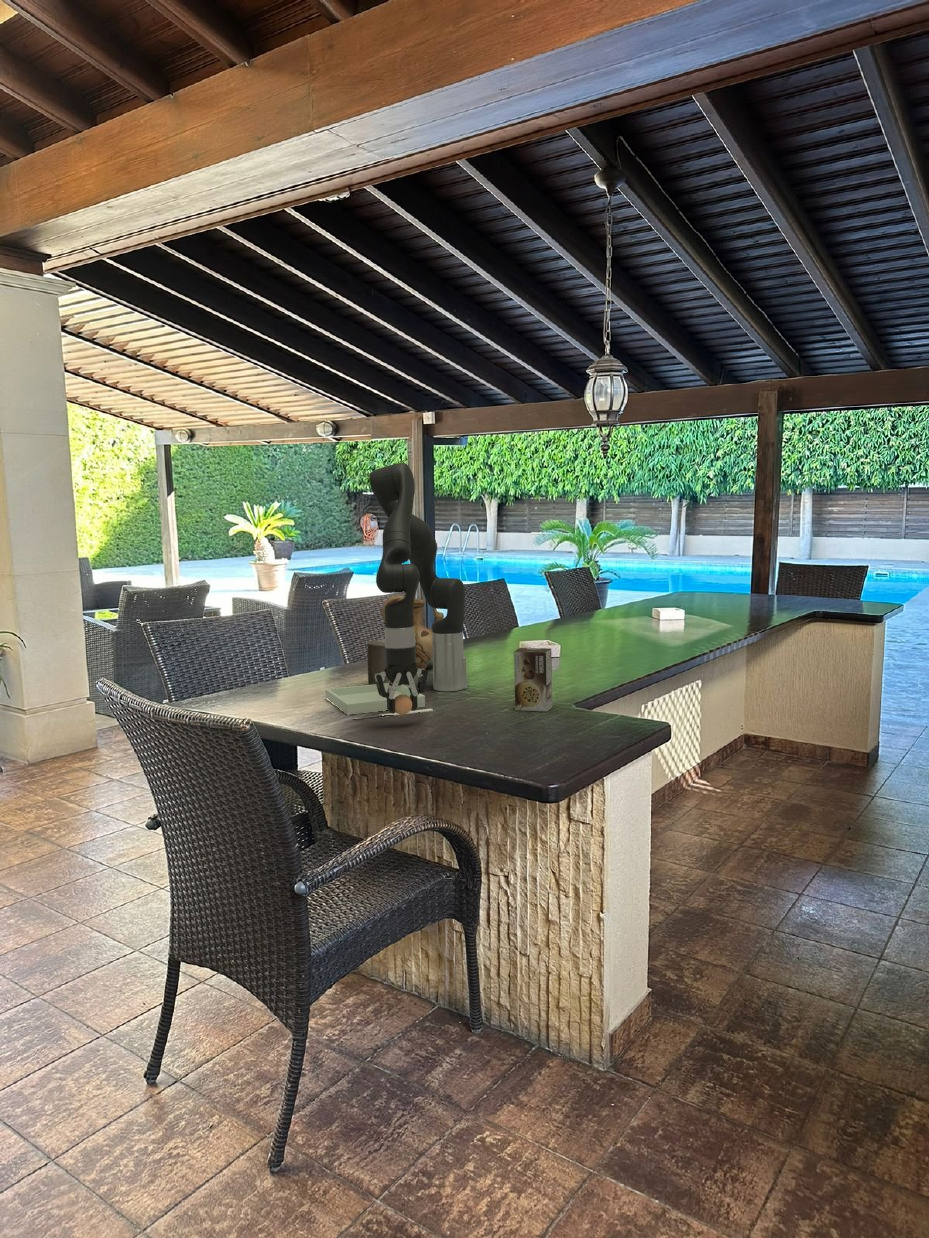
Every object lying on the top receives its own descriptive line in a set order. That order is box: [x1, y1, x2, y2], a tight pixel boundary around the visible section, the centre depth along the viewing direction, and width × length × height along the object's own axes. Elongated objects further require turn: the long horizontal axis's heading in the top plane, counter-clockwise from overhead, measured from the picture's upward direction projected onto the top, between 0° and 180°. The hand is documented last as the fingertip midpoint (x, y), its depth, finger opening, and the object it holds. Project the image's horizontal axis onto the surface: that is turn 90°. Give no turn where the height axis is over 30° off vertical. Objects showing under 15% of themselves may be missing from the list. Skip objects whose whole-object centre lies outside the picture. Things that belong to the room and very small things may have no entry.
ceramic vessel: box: [381, 595, 445, 670], centre depth 296 cm, size 18×19×25 cm
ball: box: [394, 695, 412, 716], centre depth 220 cm, size 5×5×5 cm
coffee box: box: [513, 647, 553, 713], centre depth 235 cm, size 9×6×16 cm
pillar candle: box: [366, 637, 389, 685], centre depth 268 cm, size 10×10×15 cm
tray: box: [324, 683, 426, 714], centre depth 246 cm, size 22×22×3 cm
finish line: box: [380, 708, 434, 716], centre depth 232 cm, size 22×2×1 cm, turn 114°
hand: (402, 711), depth 220 cm, fingers closed on ball, 5 cm apart
